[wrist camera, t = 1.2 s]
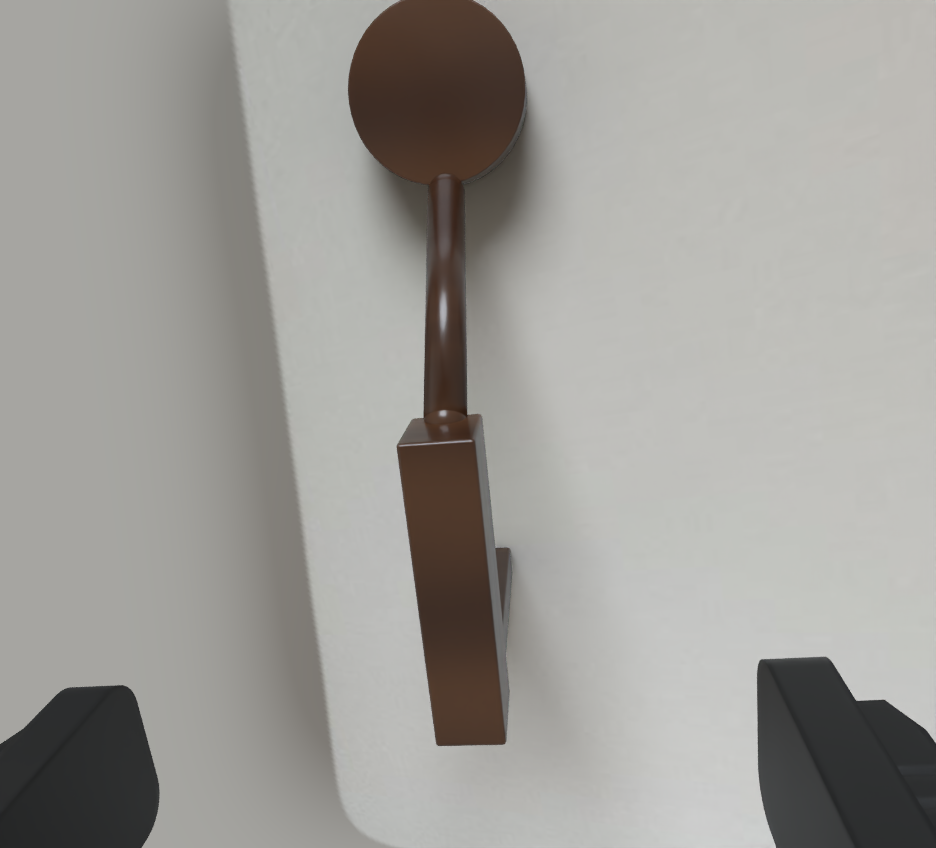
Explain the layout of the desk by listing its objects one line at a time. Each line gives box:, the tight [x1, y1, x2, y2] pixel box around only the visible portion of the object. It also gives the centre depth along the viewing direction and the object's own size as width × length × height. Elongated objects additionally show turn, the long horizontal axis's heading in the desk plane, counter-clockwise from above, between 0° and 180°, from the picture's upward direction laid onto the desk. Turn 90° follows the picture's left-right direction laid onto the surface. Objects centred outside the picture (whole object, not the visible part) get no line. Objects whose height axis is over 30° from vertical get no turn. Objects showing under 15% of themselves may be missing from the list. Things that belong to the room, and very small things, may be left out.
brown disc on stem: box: [348, 0, 527, 746], centre depth 23 cm, size 21×6×10 cm, turn 6°
